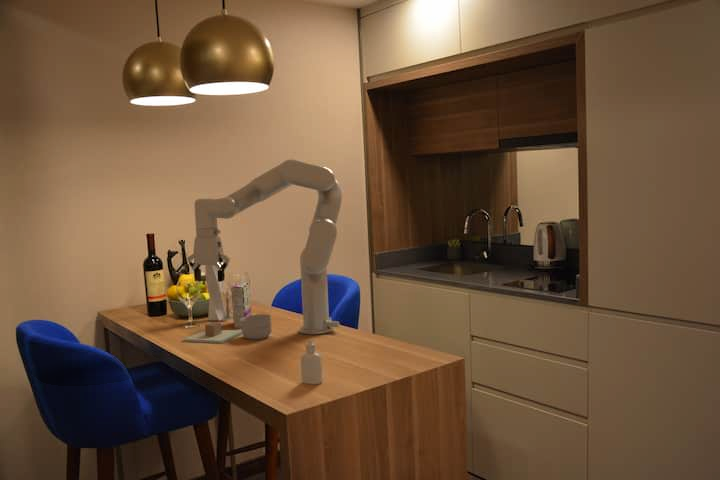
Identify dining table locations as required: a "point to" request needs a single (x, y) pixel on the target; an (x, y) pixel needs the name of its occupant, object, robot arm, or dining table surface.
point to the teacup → (256, 326)
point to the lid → (213, 334)
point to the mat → (214, 343)
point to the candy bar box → (240, 302)
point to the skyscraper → (216, 295)
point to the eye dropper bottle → (311, 365)
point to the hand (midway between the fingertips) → (209, 280)
